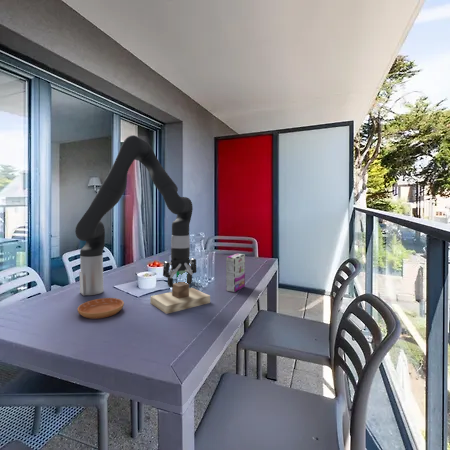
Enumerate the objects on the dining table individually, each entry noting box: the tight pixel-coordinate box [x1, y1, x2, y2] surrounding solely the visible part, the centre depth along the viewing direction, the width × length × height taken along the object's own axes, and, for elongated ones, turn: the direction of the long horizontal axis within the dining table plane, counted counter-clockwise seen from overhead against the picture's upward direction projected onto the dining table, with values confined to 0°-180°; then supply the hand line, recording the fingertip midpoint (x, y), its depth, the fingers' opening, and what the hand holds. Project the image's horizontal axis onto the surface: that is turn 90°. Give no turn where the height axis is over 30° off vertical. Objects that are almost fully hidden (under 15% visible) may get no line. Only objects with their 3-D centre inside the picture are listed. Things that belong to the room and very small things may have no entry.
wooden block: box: [150, 287, 211, 315], centre depth 118 cm, size 20×14×3 cm
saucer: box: [77, 297, 125, 320], centre depth 108 cm, size 16×16×3 cm
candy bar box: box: [225, 253, 246, 293], centre depth 139 cm, size 11×5×16 cm, turn 150°
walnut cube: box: [171, 282, 190, 299], centre depth 118 cm, size 5×5×5 cm
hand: (180, 285), depth 118 cm, fingers open, 8 cm apart
